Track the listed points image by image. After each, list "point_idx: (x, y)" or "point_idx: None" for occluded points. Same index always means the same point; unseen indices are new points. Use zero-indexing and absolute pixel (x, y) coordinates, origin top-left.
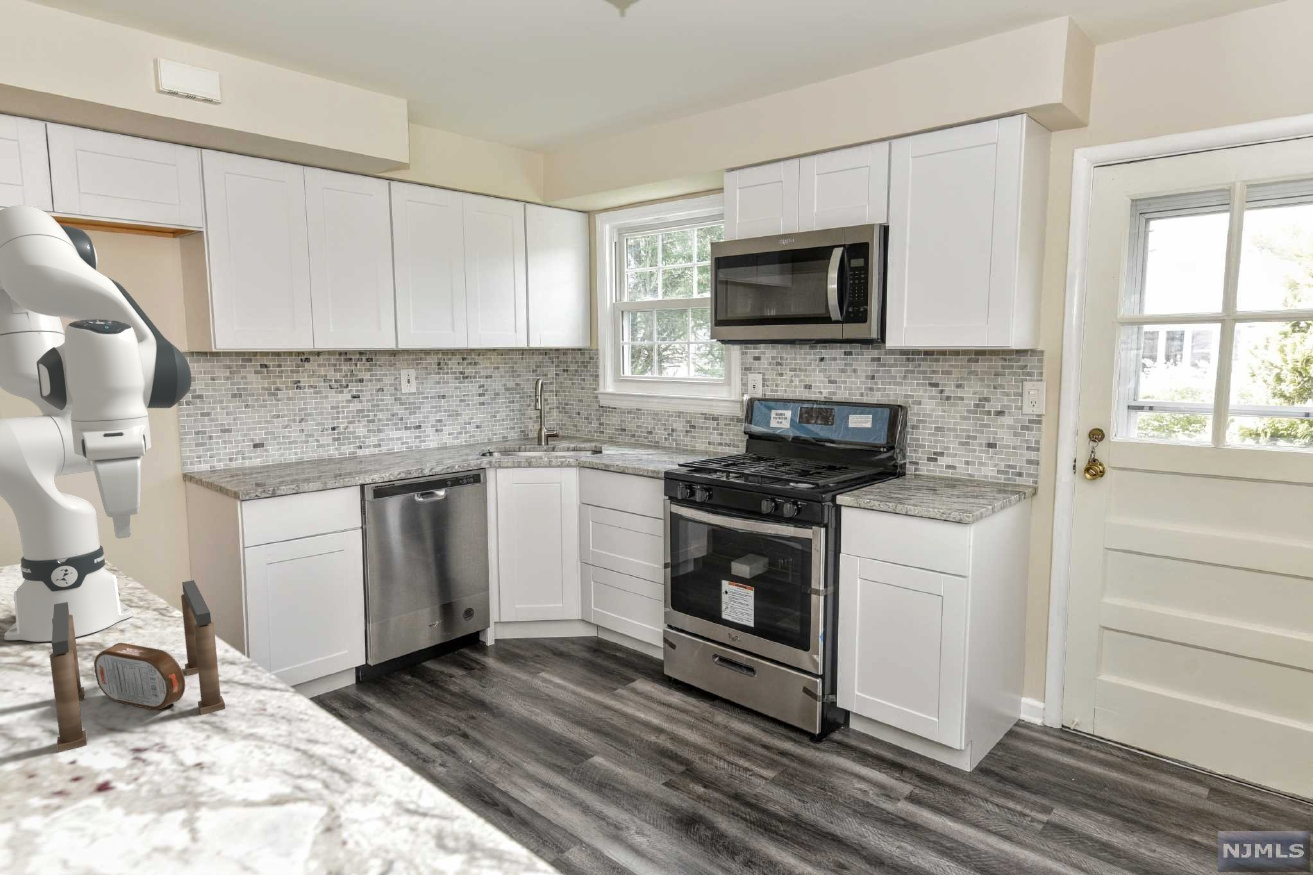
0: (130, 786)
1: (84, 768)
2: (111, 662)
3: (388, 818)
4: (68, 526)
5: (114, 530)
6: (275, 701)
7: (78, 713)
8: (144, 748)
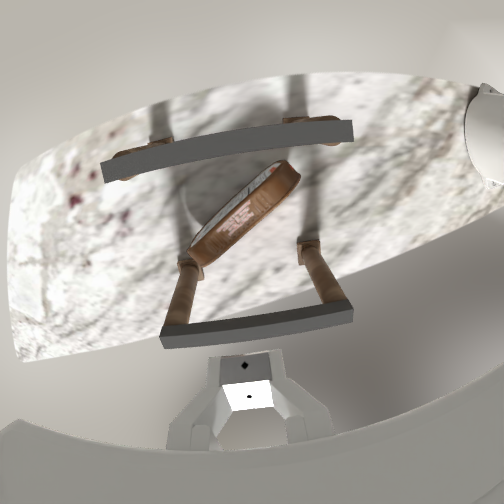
0: (70, 219)
1: None
2: (256, 187)
3: (34, 339)
4: None
5: (273, 357)
6: None
7: None
8: (126, 220)
